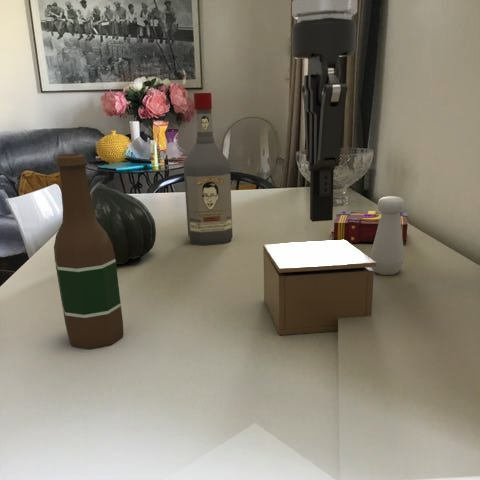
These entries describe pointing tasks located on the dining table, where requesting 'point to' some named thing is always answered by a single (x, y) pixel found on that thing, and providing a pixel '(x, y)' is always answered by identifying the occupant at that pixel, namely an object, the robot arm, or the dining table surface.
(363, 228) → the decorative book
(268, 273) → the open cardboard box
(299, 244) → the cardboard lid
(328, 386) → the dining table surface
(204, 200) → the liquor
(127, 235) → the squash
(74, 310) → the beer bottle
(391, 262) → the salt shaker
